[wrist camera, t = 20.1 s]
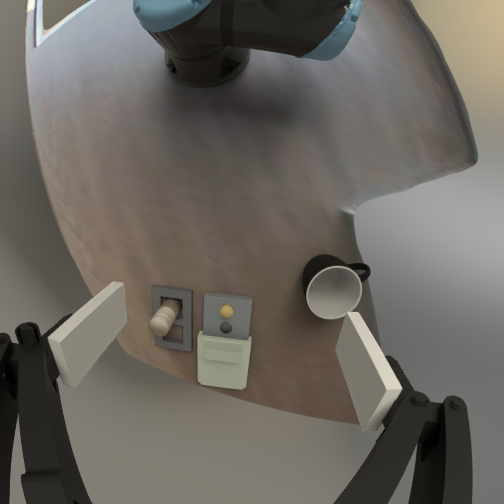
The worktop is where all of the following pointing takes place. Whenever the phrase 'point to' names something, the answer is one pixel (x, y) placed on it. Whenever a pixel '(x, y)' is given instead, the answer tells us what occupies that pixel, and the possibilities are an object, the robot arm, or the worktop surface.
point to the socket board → (182, 321)
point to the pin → (165, 317)
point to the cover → (223, 361)
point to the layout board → (227, 315)
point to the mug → (332, 286)
